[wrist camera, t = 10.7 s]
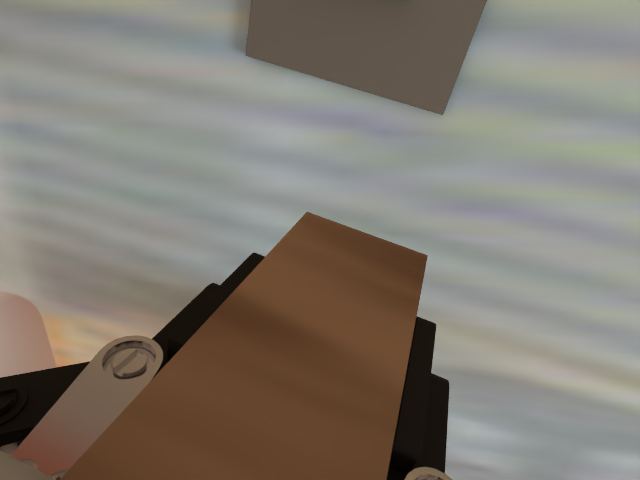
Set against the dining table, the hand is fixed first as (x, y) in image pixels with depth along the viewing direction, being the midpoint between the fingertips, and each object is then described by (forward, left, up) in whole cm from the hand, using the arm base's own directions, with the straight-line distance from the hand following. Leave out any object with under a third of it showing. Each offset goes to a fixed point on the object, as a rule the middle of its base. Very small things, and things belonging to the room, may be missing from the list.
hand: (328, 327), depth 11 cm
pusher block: (0, 0, -2) cm, 2 cm away
